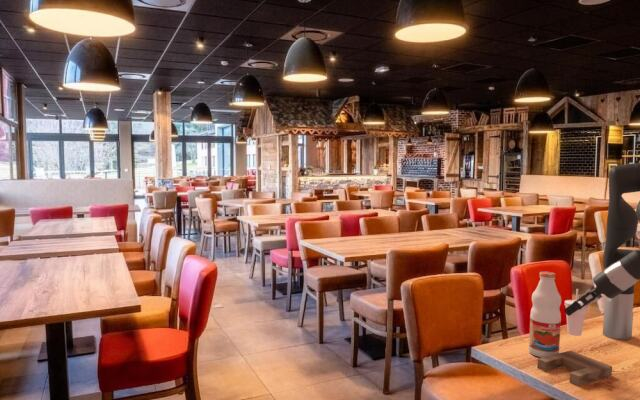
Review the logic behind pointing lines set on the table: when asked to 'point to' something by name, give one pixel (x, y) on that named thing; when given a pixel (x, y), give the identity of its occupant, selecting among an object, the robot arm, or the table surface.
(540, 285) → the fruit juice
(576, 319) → the smoothie
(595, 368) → the notched board
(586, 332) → the table surface
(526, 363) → the table surface
